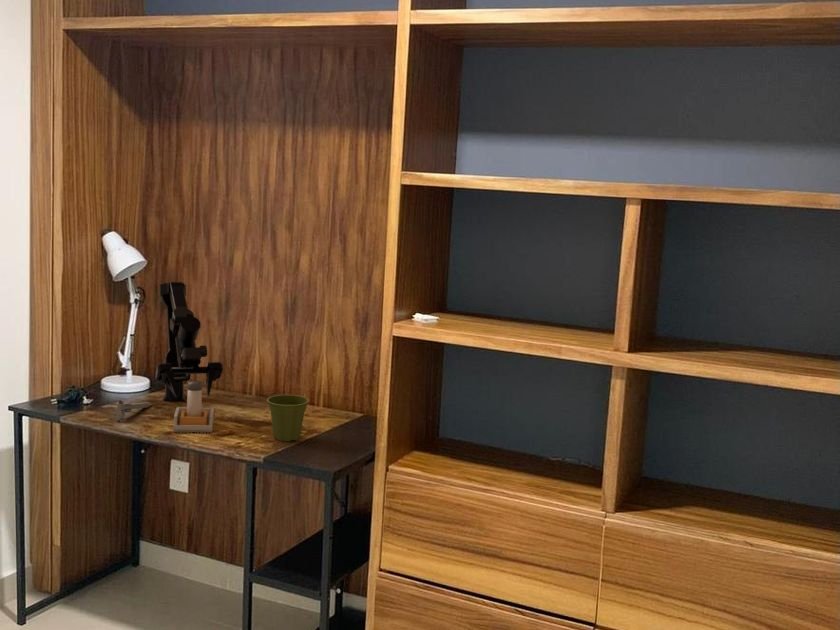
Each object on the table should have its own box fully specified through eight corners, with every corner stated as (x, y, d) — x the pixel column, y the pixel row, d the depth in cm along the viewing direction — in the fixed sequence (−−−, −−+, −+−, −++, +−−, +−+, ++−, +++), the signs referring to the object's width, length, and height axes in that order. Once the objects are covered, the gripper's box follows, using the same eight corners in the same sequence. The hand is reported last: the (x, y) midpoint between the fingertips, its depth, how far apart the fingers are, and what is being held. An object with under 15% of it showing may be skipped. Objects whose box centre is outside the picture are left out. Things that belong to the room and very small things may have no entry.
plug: (190, 422, 248) (191, 380, 246) (203, 423, 247) (204, 381, 246) (184, 425, 244) (185, 383, 242) (197, 427, 243) (198, 384, 242)
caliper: (119, 422, 247) (120, 401, 246) (116, 422, 247) (116, 401, 246) (152, 406, 267) (152, 386, 266) (148, 405, 267) (149, 386, 266)
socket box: (176, 422, 250) (176, 407, 249) (213, 422, 252) (213, 407, 251) (173, 432, 239) (173, 417, 239) (212, 432, 242) (212, 417, 241)
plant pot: (263, 432, 246) (265, 394, 244) (304, 432, 249) (306, 394, 247) (266, 444, 234) (268, 404, 233) (309, 444, 237) (311, 404, 236)
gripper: (157, 336, 245) (163, 382, 237) (222, 335, 253) (230, 380, 245) (153, 357, 253) (158, 402, 245) (216, 355, 261) (222, 399, 253)
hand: (192, 395), depth 247 cm, fingers open, 9 cm apart
